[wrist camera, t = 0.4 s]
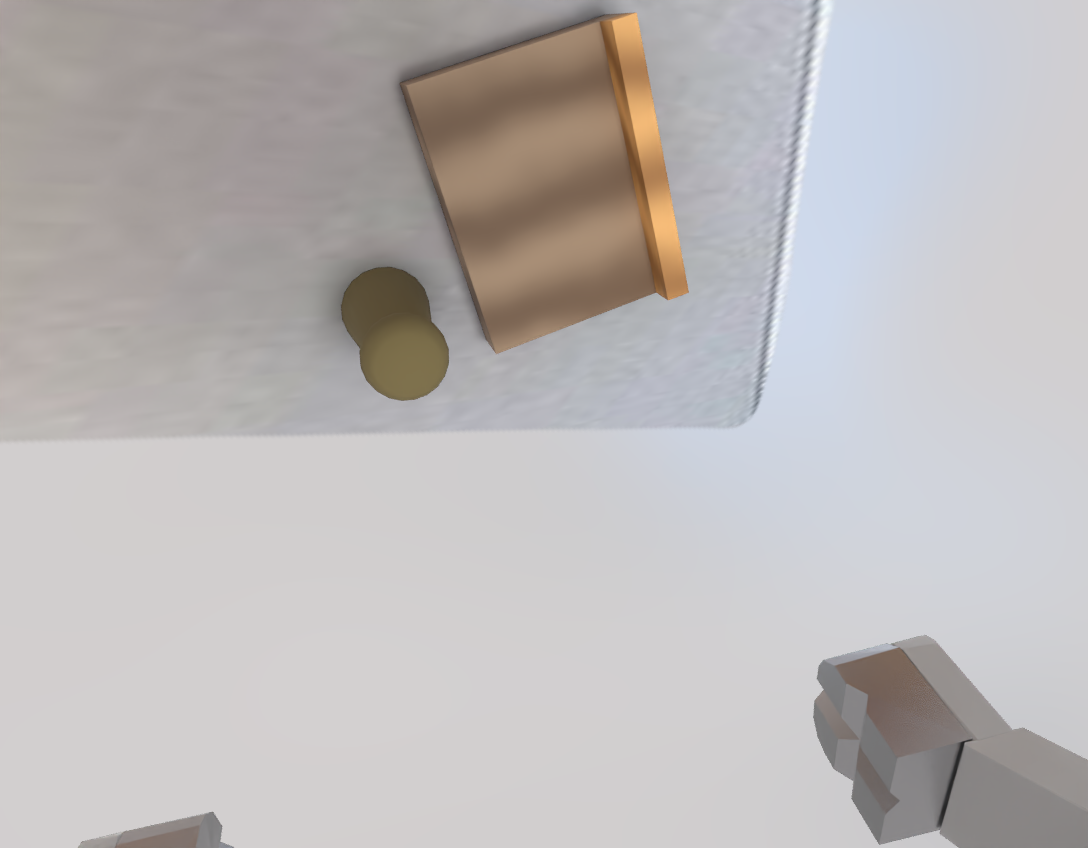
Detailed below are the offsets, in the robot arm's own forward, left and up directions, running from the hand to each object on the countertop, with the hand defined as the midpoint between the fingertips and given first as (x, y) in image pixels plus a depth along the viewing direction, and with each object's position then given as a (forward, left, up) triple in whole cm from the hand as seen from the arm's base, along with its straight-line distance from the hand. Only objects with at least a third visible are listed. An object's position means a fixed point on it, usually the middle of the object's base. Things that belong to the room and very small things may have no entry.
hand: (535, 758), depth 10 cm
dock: (+5, +13, -46) cm, 48 cm away
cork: (+9, 0, -46) cm, 47 cm away
